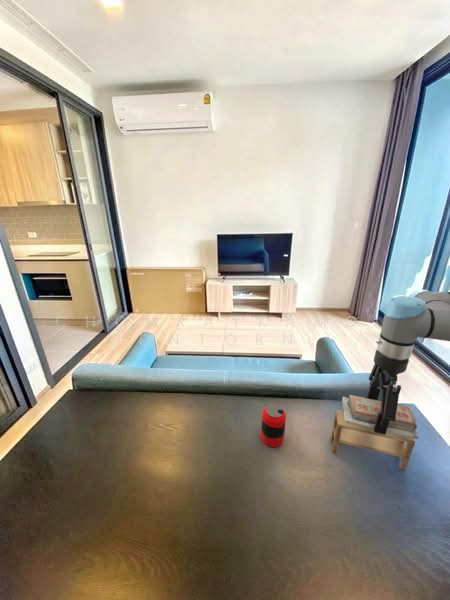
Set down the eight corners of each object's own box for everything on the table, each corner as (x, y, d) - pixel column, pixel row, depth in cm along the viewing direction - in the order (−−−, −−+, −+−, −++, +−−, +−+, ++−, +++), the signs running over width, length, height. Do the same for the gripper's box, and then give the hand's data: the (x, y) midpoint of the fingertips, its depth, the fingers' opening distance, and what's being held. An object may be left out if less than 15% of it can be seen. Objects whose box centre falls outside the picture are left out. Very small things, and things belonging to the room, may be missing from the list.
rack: (398, 453, 79) (407, 424, 75) (404, 471, 74) (415, 441, 69) (330, 437, 85) (336, 409, 80) (332, 453, 79) (338, 424, 75)
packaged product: (409, 401, 74) (422, 427, 65) (405, 413, 76) (417, 441, 67) (343, 387, 79) (347, 410, 70) (341, 400, 81) (344, 423, 72)
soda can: (282, 450, 80) (285, 422, 76) (258, 443, 82) (260, 415, 78) (284, 431, 87) (287, 404, 82) (263, 426, 89) (265, 399, 85)
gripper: (367, 332, 77) (354, 390, 85) (388, 376, 57) (369, 447, 65) (395, 335, 75) (379, 394, 83) (427, 382, 55) (402, 455, 63)
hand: (374, 417), depth 74 cm, fingers closed on packaged product, 10 cm apart
